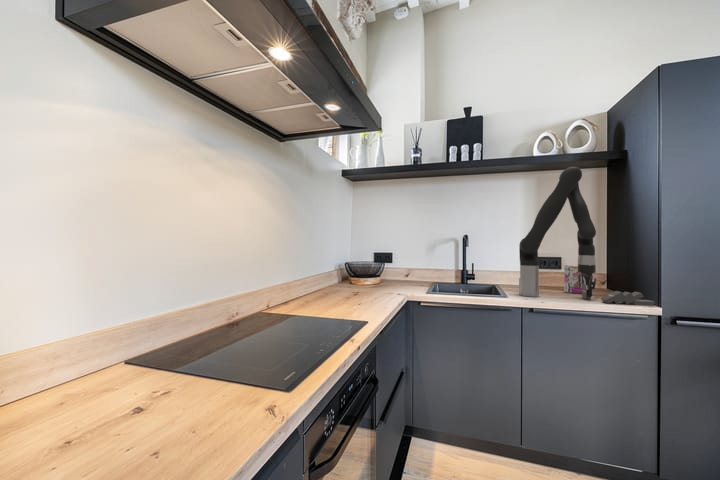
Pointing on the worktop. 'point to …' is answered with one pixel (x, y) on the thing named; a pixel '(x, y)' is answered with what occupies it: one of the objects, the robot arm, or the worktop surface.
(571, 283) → the candy bar box
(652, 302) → the domino
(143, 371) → the worktop surface
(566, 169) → the robot arm
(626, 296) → the dark grey bumpy bar
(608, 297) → the domino
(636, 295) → the domino
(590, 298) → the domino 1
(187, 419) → the worktop surface
